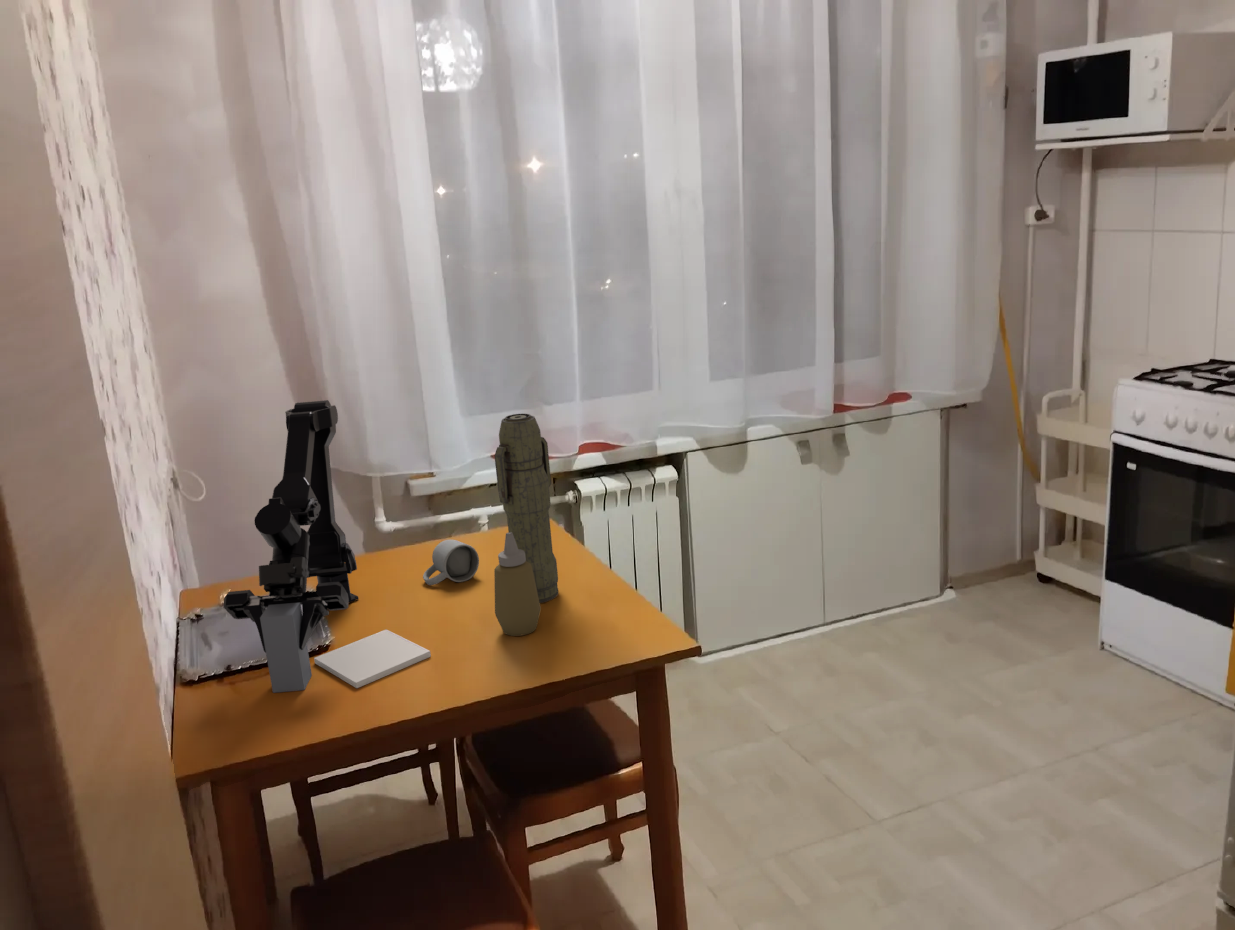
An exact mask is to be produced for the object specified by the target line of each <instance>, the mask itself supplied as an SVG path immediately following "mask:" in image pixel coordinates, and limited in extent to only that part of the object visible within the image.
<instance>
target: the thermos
mask: <svg viewBox="0 0 1235 930" xmlns="http://www.w3.org/2000/svg"><path fill="white" fill-rule="evenodd" d="M498 438H499V439H498V440H499V444H498V446H497V447H496V450H495V453H494V464H495V472H496V474H495V476H496V482H497V491H498V496H499V498H498V499H499V502H500V503H502V509H503V511H504V513H505V514H506V519H507V522H506V523H507V528H508V532H507V533H509V532H512V533H513V536H514V539H515V541H516V544H517V547H518V549H521V550H523V551H524V552H525V557H526V561H527V562H529V563H530V564H531V566H532V570H533V574H534V579H535V584H536V588H537V593H538V598H539V602H540V604H543V603H547V602H549V601H552V600H554V599H555V598H557V597H558V596H559V588H558V587H559V586H558V582H559V575H558V574H559V573H558V572H559V571H558V565H557V564H558V563H557V558H556V556H555V554H554V552H553V551H554V550H553V541H552V533H551V532H552V530H551V521H550V520H551V519H550V508H551V496H550V495H551V493H550V486H551V485H552V479H551V467H550V456H549V447H548V441H547V440H546V438H545V437H543V436H542V433H541V429H540V427H539V424H538V422H537V420H536V418H535V416H534V415H531V414H530V413H515V414H514V413H513V414H509V415H507V416H504V418H502V419H501V423H500V427H499V430H498Z"/></svg>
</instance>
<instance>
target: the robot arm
mask: <svg viewBox="0 0 1235 930" xmlns="http://www.w3.org/2000/svg"><path fill="white" fill-rule="evenodd" d="M293 406H294V407H293V408H290V409H288V410H286V411H285V413H284V414H285V424H286V430H287V435H286V437H287V438H286V447H285V454H284V455H285V456H284V465H283V473H282V479H281V480H280V481H279V482H278V483H277V485H276V486H275V487H274V488H273V492H272V497H271V498H268V504H266V505H265V506H263V507H262V508H261V509H260V510H259V511H258V512H257V513H256V516H255V517H254V521H253V522H254V526H255V528H256V530H257V531H258V532H259V534H260V535H261V536H262V537H263V539H264V541H265V542H266V543H267V544H268V546H269V547H271V548H272V557H271V560H270V561H269V563H268V564H263V565H259V566H258V584H259V586H260V587H262V586H263V590H264V591H265V593H268V592H269V593H268V595H262V596H260V595H255V594H254V593H253V591H252V590H251V589H244V590H234V591H228V592H227V593H226V595H225V596H224V597H223V605H222V606H223V608H224V610H225V611H227V613H229V615H230V616H231V617H232V618H233V619H235V620H247V619H250V621H252V623H253V622H254V623H255V626H256V628H257V631H258V634H259V639H260V643H261V645H262V649H263V652H264V653H265V654H266V650H265V644H264V638H263V633H262V627H261V621H260V617H261V616H262V614H263V613H264V611H265V610H266V608H267V607H268V605H275V604H287V603H299V602H300V605H302V607H301V610H302V623H301V630H300V637H299V648H300V649H301V650H303V649H304V647H305V646H306V644H307V643H308V641H309V640H310V638H311V636H312V634H313V632H314V630H315V629H316V627H317V626H318V625H319V623H320V622H321V620H322V619H323V617H326V616H329V614H330V611H340V610H347V609H348V608H349V603H352V602H355V601H358V600H359V599H360V598H359V596H358V595H356V594H354V593H352V592H351V588H350V582H349V581H350V580H349V575H350V574H352V573H353V572H355V571H357V570H358V567H357V566H358V565H357V560H356V555H355V553H354V551H353V550H352V547H351V546H350V545H349V543H348V542H347V536H346V533H345V532H344V531H343V529H342V528H341V527H340V526H339V524H338V523H337V522H336V514H335V513H336V512H335V501H334V491H333V480H332V479H333V478H332V470H331V459H330V445H331V443H332V441H333V439H334V437H335V436H336V433H337V426H336V425H337V424H338V421H339V420H338V419H339V416H338V409H337V407H336V405H334V404H333V405H331V402H330V400H328V399H325V400H311V401H301V402H295V403H294V405H293ZM301 526H302V527H303V526H309V527H308V530H307V531H306V530H305V528H302V527H301ZM314 577H316V579H317V583H316V586H315V590H314V591H307V583H308V579H309V578H314ZM307 645H308V644H307Z"/></svg>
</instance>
